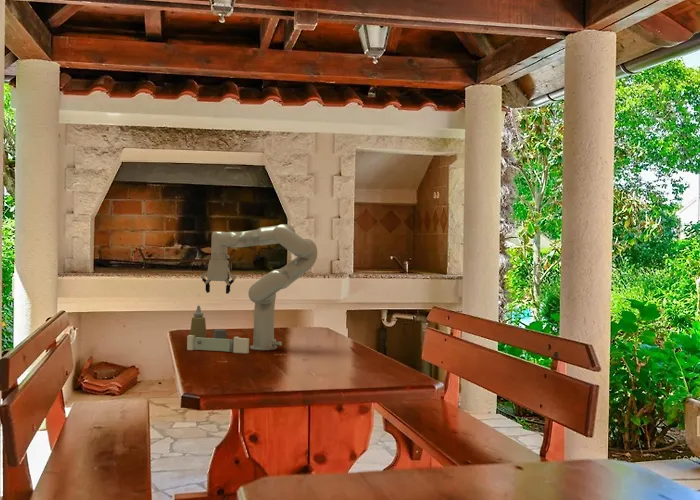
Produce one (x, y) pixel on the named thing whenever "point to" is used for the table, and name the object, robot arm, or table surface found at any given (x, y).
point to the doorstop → (219, 333)
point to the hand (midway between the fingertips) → (217, 292)
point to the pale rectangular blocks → (239, 347)
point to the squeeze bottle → (198, 325)
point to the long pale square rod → (214, 344)
